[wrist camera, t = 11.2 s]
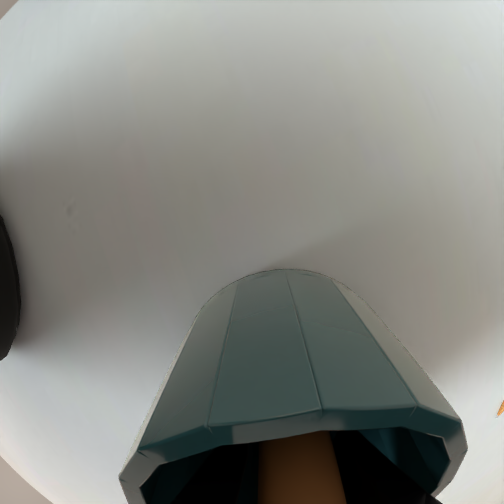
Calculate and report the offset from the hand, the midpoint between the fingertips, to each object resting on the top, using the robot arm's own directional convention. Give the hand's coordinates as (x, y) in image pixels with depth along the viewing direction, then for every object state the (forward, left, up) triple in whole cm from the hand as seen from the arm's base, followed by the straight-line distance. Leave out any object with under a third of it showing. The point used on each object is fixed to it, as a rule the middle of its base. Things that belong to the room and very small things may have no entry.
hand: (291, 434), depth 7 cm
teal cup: (0, 0, -4) cm, 4 cm away
